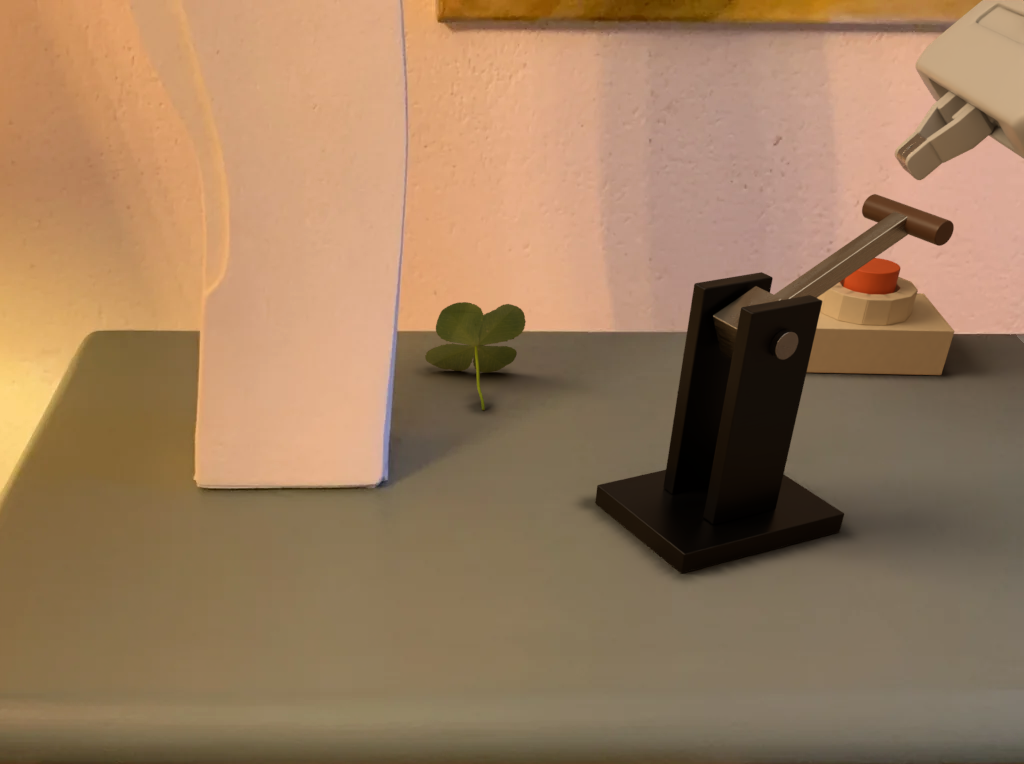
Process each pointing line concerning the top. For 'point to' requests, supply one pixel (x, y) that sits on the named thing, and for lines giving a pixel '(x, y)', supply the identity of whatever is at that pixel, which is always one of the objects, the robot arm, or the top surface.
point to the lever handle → (842, 259)
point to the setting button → (874, 277)
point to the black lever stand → (730, 439)
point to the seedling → (476, 338)
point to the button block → (879, 333)
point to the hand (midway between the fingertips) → (904, 167)
